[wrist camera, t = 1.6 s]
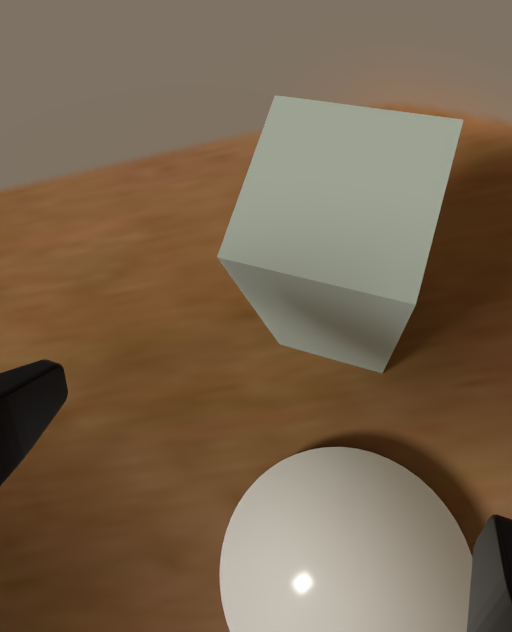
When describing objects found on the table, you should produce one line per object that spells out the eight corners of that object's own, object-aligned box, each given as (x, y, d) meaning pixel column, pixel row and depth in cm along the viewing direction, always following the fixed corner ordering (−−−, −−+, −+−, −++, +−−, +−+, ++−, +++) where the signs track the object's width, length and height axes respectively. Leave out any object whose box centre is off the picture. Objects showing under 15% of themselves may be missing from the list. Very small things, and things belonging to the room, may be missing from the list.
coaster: (529, 617, 17) (542, 630, 16) (318, 771, 17) (316, 795, 16) (362, 401, 20) (363, 399, 19) (185, 531, 20) (176, 536, 19)
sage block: (408, 274, 22) (463, 119, 11) (382, 373, 21) (415, 305, 10) (308, 251, 23) (274, 95, 13) (279, 344, 22) (217, 257, 12)
